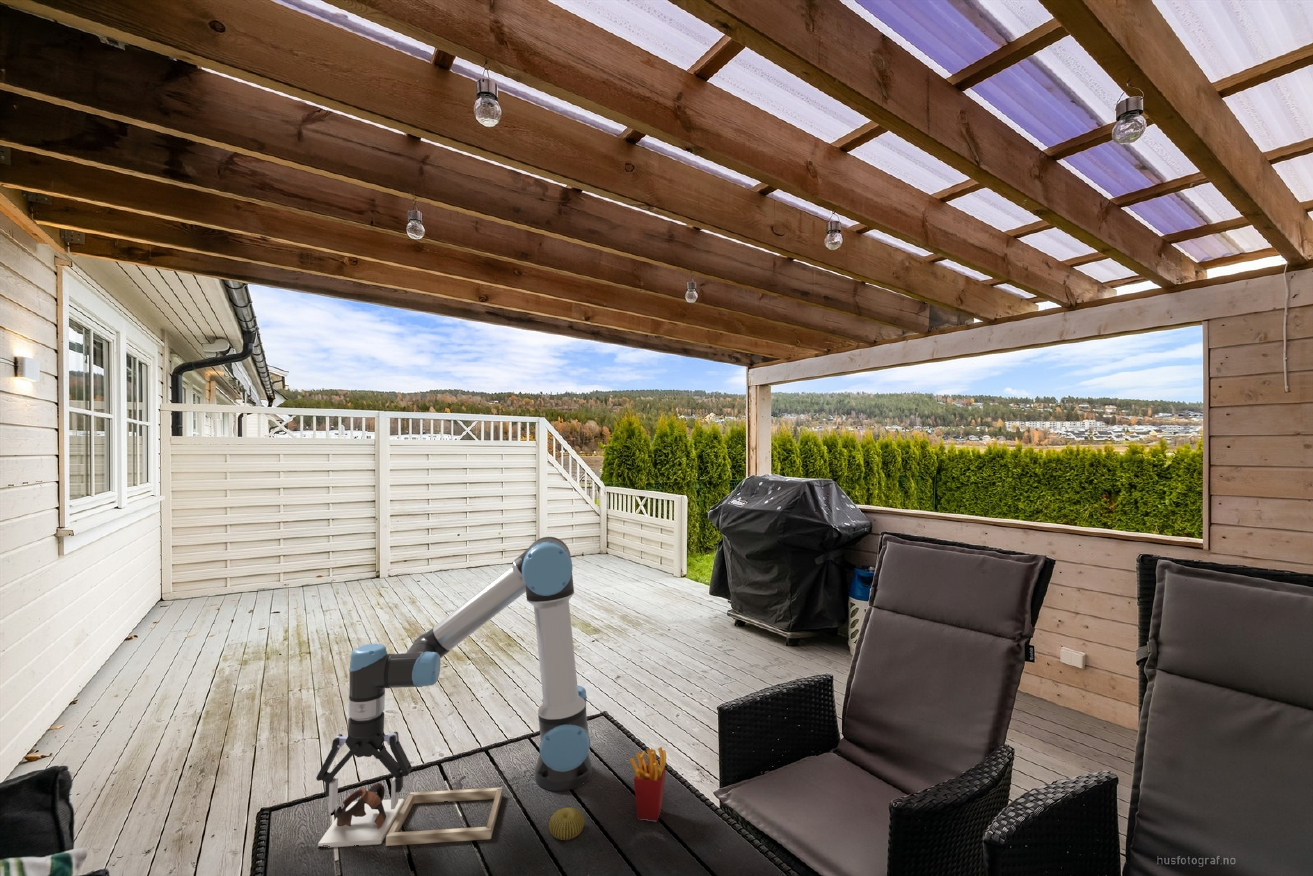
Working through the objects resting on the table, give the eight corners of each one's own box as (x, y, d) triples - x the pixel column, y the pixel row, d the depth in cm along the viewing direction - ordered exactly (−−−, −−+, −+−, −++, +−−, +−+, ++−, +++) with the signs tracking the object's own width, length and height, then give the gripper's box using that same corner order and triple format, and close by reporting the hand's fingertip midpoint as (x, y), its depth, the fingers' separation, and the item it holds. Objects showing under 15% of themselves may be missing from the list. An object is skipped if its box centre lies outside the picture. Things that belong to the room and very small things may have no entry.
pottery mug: (376, 839, 124) (355, 811, 123) (342, 853, 126) (321, 826, 124) (403, 794, 136) (384, 768, 135) (371, 807, 137) (353, 781, 136)
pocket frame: (502, 795, 142) (502, 787, 142) (490, 839, 126) (491, 829, 126) (409, 800, 139) (410, 792, 140) (385, 845, 123) (386, 836, 123)
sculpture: (583, 801, 133) (585, 823, 125) (582, 819, 133) (585, 841, 125) (548, 805, 132) (548, 827, 124) (548, 823, 132) (548, 846, 124)
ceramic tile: (403, 802, 139) (403, 798, 139) (380, 844, 124) (380, 839, 124) (347, 806, 137) (348, 801, 137) (317, 848, 122) (318, 843, 122)
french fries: (660, 826, 131) (661, 760, 131) (626, 820, 132) (626, 755, 133) (668, 803, 139) (668, 741, 140) (635, 799, 141) (636, 737, 142)
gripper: (301, 724, 126) (298, 821, 125) (417, 719, 129) (414, 814, 128) (317, 709, 134) (314, 801, 133) (426, 705, 137) (424, 794, 136)
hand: (363, 807), depth 131 cm, fingers open, 13 cm apart
